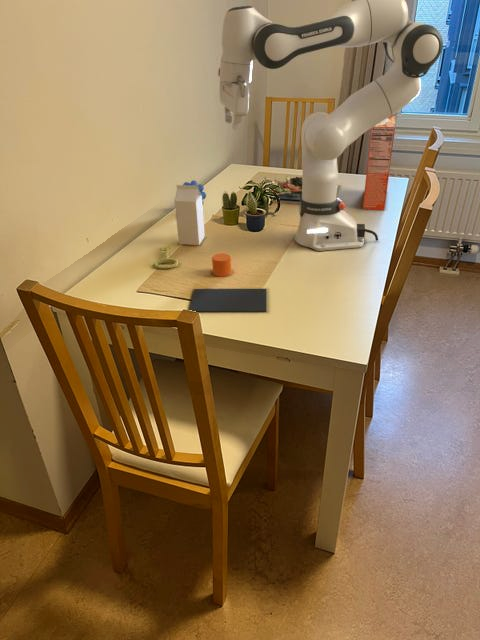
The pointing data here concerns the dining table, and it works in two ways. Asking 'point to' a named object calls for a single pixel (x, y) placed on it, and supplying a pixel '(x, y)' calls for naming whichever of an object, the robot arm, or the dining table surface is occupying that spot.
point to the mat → (229, 300)
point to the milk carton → (189, 215)
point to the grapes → (200, 187)
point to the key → (166, 260)
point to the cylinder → (221, 264)
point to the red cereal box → (379, 164)
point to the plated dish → (289, 190)
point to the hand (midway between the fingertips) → (232, 126)
